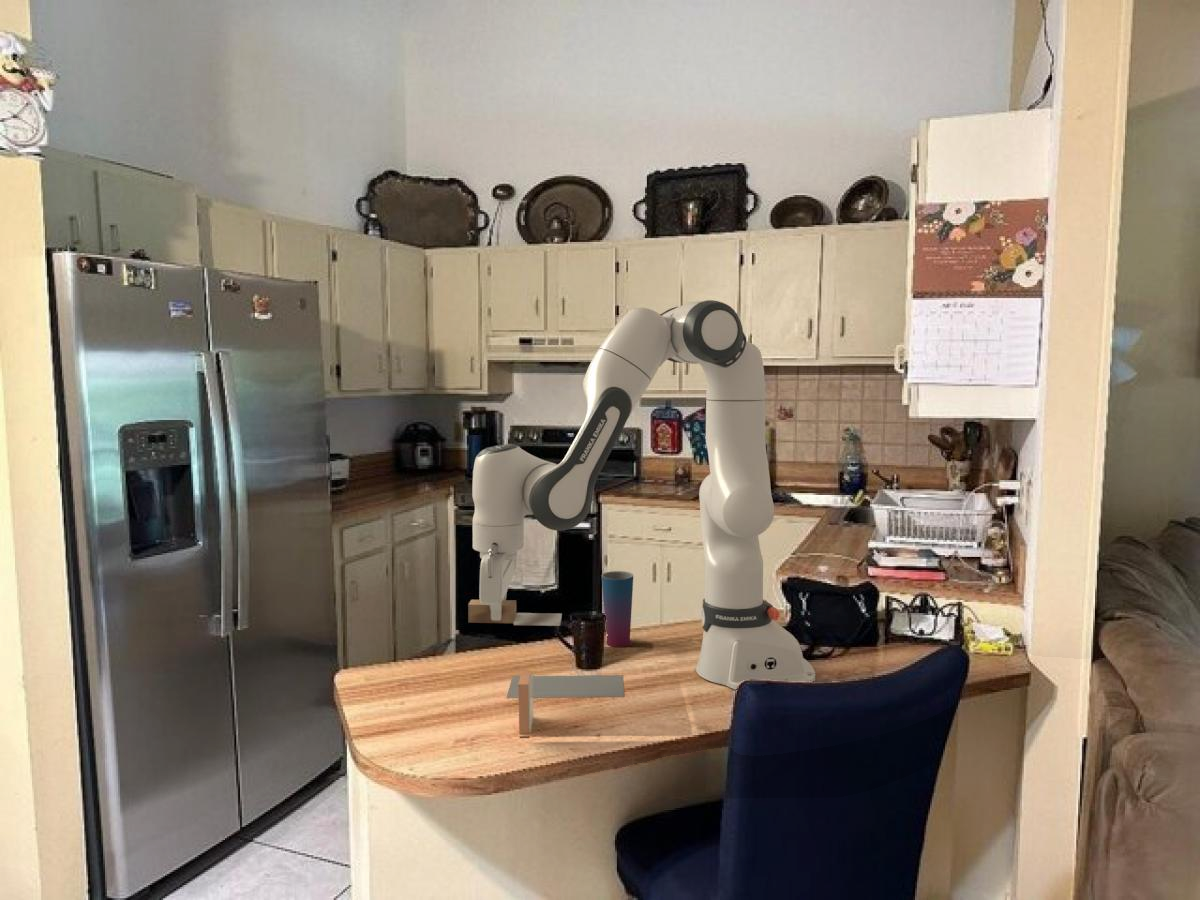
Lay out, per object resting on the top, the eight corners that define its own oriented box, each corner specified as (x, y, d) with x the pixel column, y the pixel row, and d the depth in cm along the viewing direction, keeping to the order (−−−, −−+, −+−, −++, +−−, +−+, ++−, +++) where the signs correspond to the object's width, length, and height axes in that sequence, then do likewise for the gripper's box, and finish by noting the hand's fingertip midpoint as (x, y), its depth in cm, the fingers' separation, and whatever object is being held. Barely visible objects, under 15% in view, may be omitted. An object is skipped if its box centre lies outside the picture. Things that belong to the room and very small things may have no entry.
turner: (467, 624, 140) (467, 606, 140) (472, 615, 145) (472, 598, 145) (559, 625, 140) (560, 607, 140) (561, 616, 145) (561, 599, 145)
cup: (634, 638, 177) (634, 571, 176) (632, 649, 171) (632, 579, 169) (603, 637, 178) (603, 570, 176) (600, 648, 171) (600, 579, 170)
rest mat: (622, 679, 155) (622, 675, 154) (624, 700, 145) (624, 696, 144) (512, 680, 155) (512, 676, 154) (506, 702, 145) (506, 697, 145)
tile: (533, 721, 137) (532, 670, 136) (530, 738, 131) (529, 684, 130) (523, 721, 137) (521, 670, 136) (519, 738, 131) (518, 684, 130)
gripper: (509, 551, 131) (509, 635, 132) (522, 526, 151) (522, 599, 152) (469, 551, 131) (470, 634, 132) (488, 526, 151) (488, 598, 152)
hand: (498, 615), depth 142 cm, fingers closed on turner, 3 cm apart
